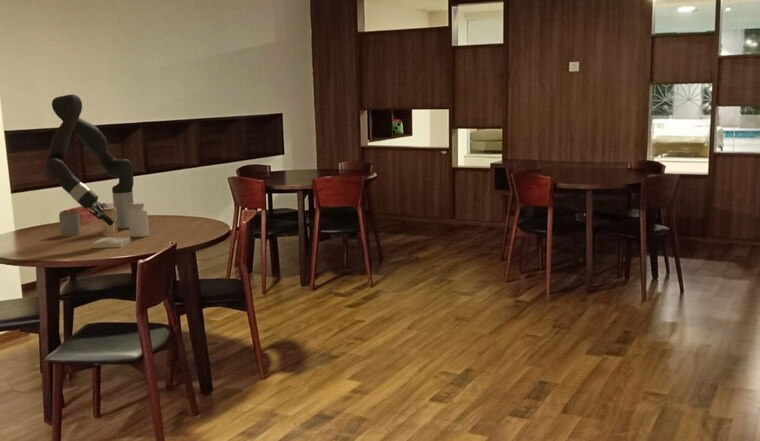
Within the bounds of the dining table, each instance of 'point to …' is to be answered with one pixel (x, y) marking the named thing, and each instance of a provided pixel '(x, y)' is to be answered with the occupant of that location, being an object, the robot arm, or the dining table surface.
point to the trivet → (111, 242)
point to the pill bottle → (138, 220)
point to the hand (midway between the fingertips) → (114, 223)
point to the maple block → (112, 215)
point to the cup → (69, 224)
